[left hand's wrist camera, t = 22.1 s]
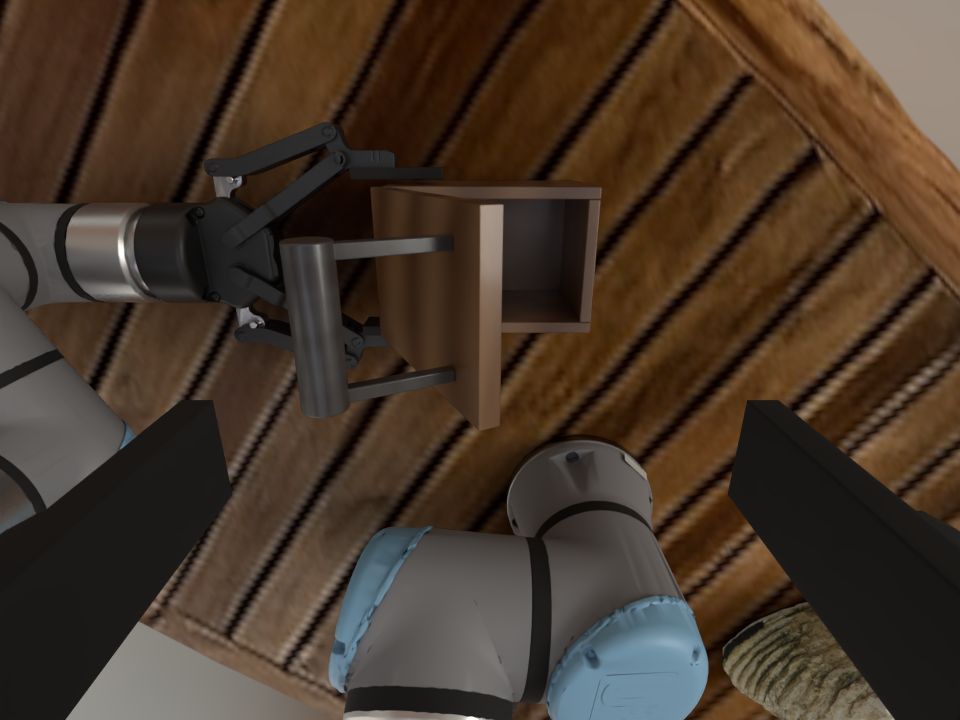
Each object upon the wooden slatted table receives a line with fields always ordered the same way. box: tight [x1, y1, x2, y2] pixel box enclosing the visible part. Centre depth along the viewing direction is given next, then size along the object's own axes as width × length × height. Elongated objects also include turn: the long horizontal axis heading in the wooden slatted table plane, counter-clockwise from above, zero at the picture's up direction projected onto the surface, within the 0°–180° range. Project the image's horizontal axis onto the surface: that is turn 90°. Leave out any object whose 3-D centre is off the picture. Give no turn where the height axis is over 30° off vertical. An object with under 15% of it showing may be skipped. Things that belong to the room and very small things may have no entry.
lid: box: [279, 187, 504, 431], centre depth 27 cm, size 16×10×8 cm
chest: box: [381, 180, 602, 333], centre depth 41 cm, size 15×10×11 cm
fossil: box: [722, 602, 894, 720], centre depth 56 cm, size 9×18×15 cm, turn 137°
